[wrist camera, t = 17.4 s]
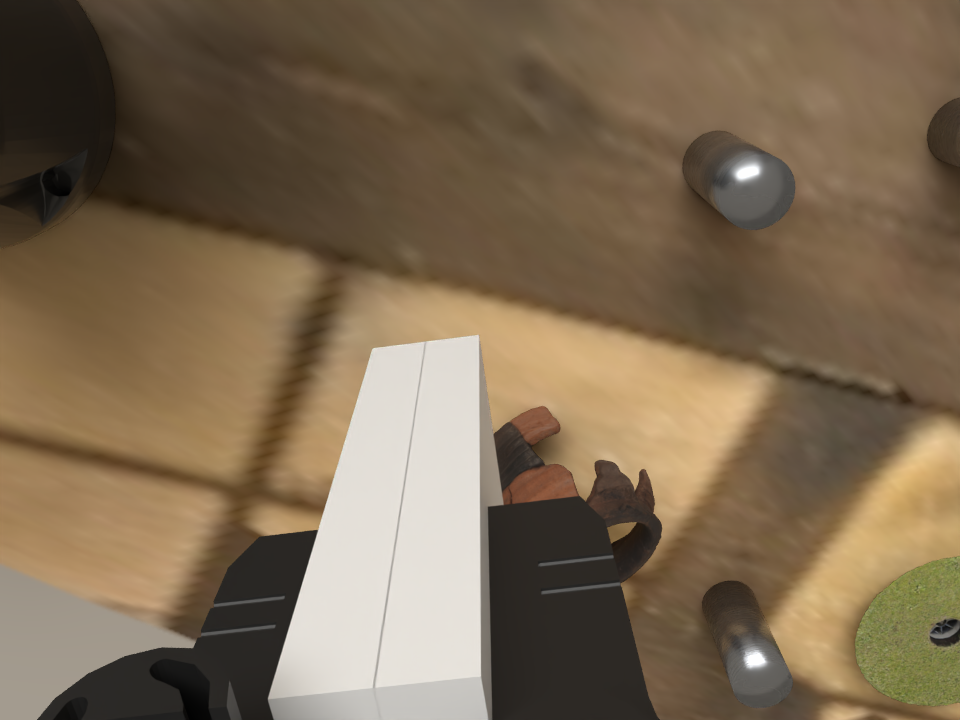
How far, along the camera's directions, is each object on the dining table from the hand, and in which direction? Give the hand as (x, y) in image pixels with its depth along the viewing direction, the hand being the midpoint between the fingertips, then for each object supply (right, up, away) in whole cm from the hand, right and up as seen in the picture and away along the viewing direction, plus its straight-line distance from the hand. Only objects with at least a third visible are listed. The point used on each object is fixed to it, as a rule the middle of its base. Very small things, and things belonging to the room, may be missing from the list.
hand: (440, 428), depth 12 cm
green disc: (+29, -15, +42) cm, 53 cm away
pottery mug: (+2, -5, +38) cm, 39 cm away
